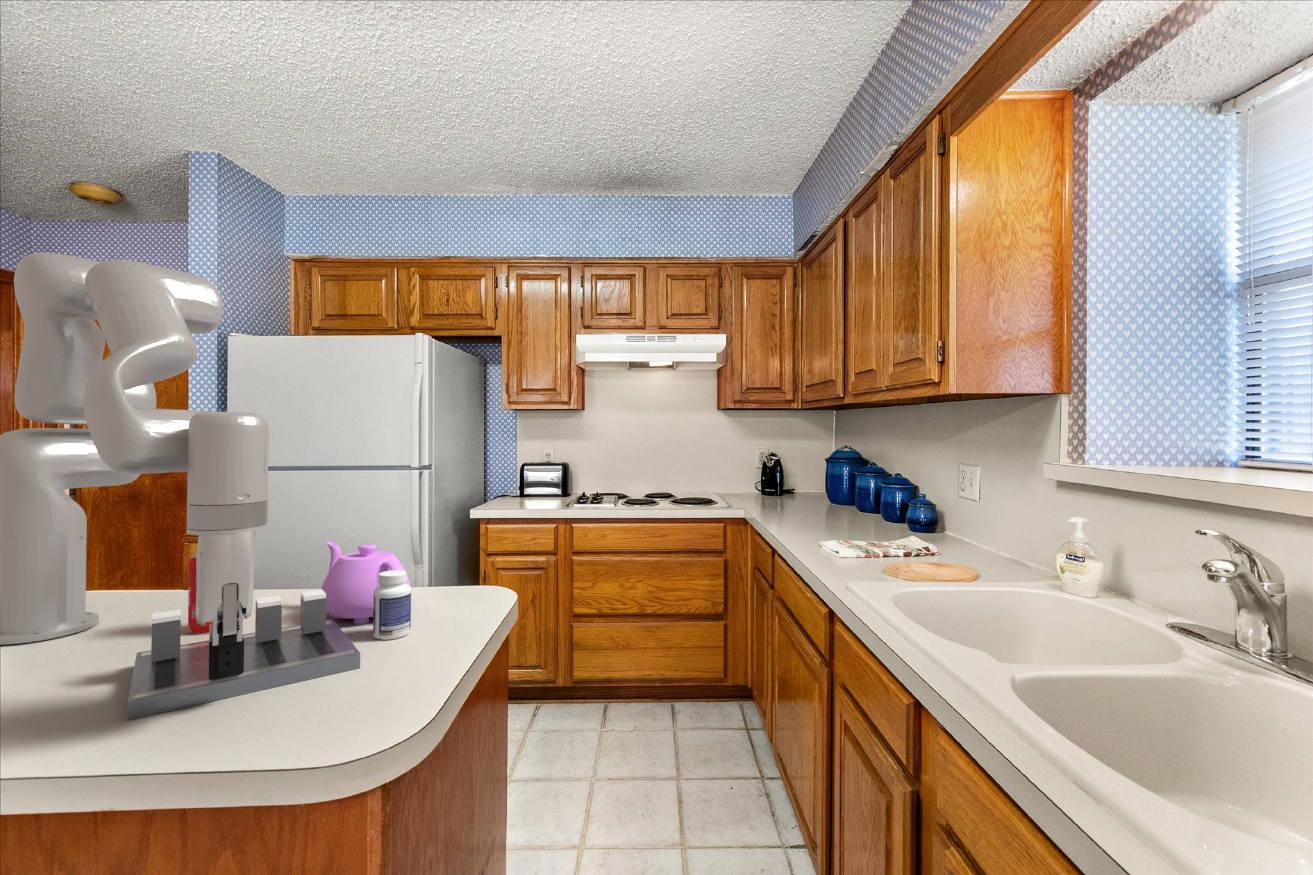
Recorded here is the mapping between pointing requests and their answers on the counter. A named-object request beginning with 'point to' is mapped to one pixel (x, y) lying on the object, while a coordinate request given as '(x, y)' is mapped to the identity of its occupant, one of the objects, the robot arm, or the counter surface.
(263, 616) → the breaker
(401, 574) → the pill bottle
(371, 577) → the teapot
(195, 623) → the beverage can
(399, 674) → the counter surface
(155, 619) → the block
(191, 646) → the panel
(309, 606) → the breaker
